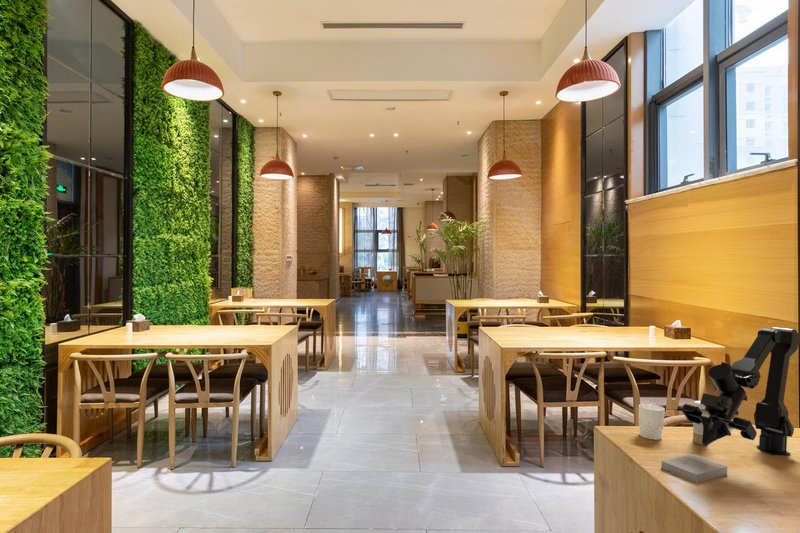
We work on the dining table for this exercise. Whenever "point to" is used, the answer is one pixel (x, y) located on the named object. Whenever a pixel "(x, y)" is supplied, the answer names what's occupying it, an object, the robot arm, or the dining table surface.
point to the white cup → (651, 421)
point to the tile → (694, 468)
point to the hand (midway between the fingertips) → (704, 444)
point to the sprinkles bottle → (698, 426)
